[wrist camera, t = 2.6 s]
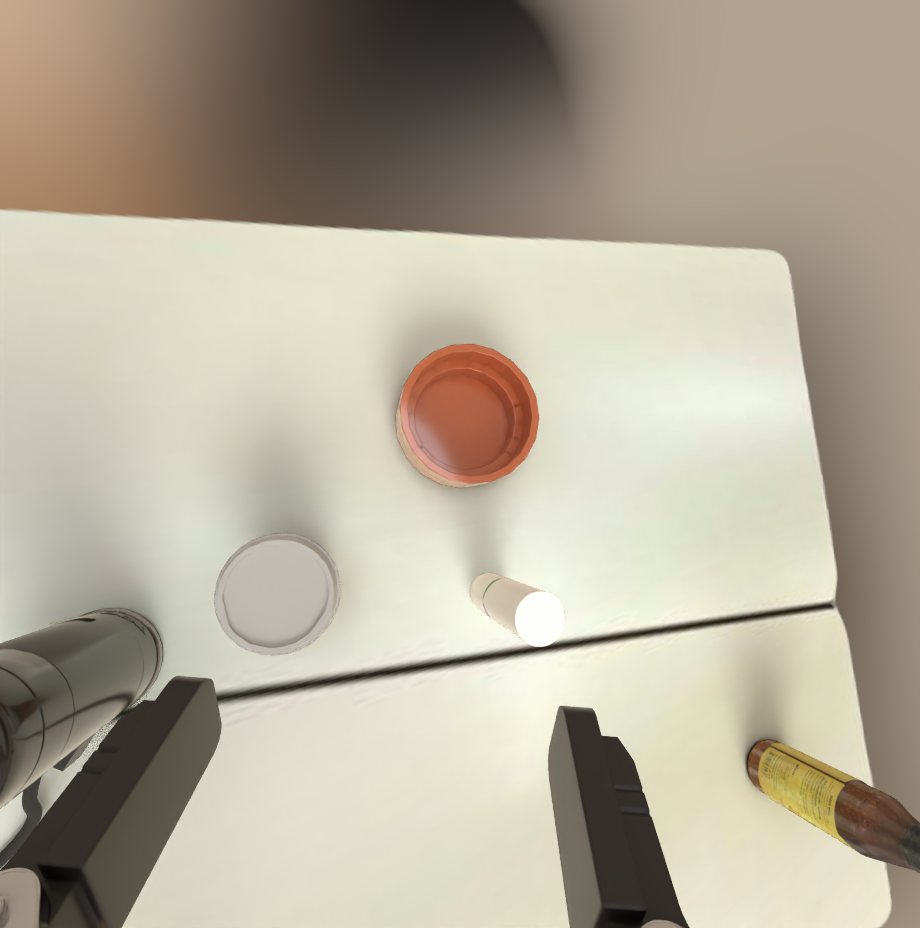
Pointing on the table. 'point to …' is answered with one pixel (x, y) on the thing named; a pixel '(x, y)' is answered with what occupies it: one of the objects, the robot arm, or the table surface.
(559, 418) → the table surface
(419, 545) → the table surface
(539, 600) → the tube
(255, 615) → the disposable coffee cup
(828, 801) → the sauce bottle
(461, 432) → the bowl
